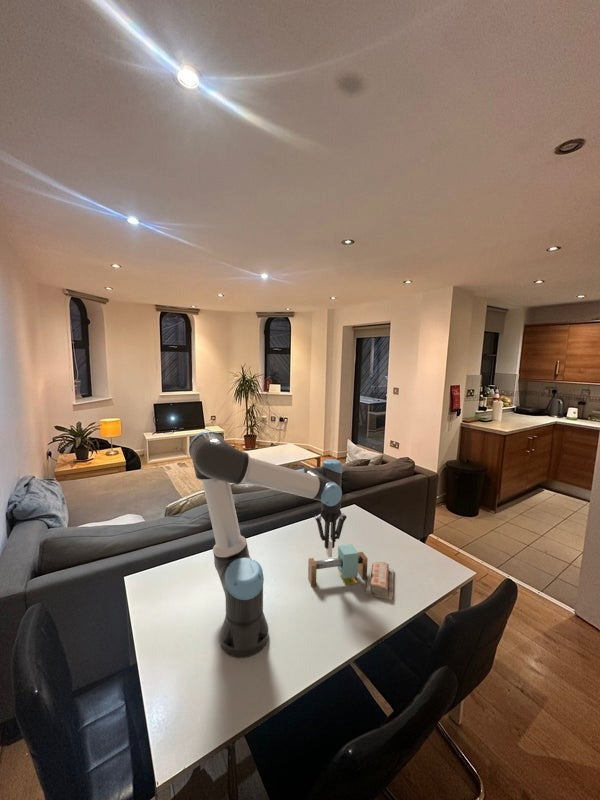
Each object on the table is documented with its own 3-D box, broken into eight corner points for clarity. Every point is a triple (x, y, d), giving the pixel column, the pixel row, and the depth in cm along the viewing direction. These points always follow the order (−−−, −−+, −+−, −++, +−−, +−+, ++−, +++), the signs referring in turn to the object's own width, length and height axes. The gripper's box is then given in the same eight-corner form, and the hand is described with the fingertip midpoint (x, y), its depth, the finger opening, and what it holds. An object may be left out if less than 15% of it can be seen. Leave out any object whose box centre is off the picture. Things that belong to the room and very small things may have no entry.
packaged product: (393, 589, 122) (366, 584, 124) (392, 601, 122) (365, 595, 125) (393, 561, 139) (369, 557, 142) (393, 572, 139) (369, 567, 142)
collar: (351, 566, 139) (351, 544, 138) (357, 576, 132) (358, 553, 131) (337, 568, 137) (338, 545, 136) (343, 578, 131) (344, 554, 130)
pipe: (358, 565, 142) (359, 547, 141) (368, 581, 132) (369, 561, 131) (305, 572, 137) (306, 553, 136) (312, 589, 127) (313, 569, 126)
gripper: (343, 494, 134) (341, 548, 137) (312, 496, 131) (311, 551, 134) (350, 501, 127) (347, 559, 130) (317, 504, 124) (316, 562, 127)
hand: (329, 555), depth 132 cm, fingers closed
